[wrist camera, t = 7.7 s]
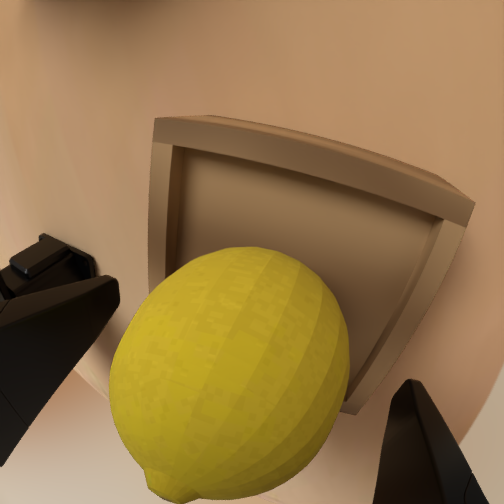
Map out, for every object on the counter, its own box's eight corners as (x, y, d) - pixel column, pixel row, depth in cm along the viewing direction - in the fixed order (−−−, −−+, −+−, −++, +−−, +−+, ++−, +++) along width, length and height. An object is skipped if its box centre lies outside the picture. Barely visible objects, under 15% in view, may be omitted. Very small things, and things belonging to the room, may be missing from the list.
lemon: (258, 356, 12) (175, 521, 6) (180, 252, 11) (21, 398, 5) (380, 315, 10) (361, 550, 3) (302, 177, 9) (119, 396, 2)
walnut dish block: (360, 353, 15) (355, 415, 11) (191, 298, 17) (152, 343, 13) (438, 175, 10) (475, 202, 7) (210, 115, 12) (154, 118, 8)
